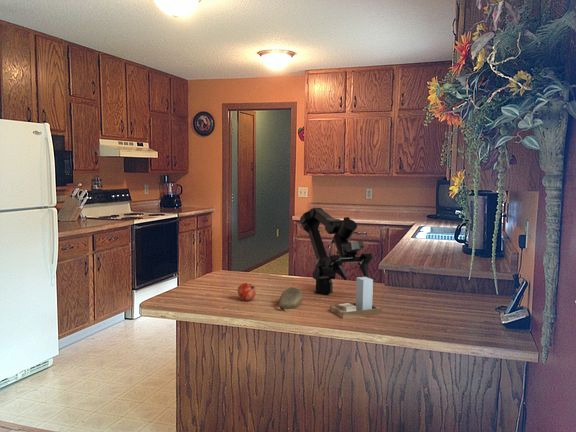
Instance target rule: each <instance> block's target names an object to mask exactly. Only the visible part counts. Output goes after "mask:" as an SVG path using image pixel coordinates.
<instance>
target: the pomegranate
mask: <svg viewBox="0 0 576 432" xmlns="http://www.w3.org/2000/svg"><path fill="white" fill-rule="evenodd" d="M236 291H237V295H238V296H239V299H241V300H242V301H244V302H249V301H251V300H254V299H255V298H256V295H257V293H256V292H257V291H256V286H255V285H252V284H250V283H247V282H244V283H241V284H240V285H239V286H238V288H237V289H236Z"/></svg>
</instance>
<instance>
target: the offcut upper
mask: <svg viewBox="0 0 576 432" xmlns="http://www.w3.org/2000/svg"><path fill="white" fill-rule="evenodd" d="M338 305H339V306H338V308H339V309H341V310H343V311H345V312H349V311H356V306H354V305H352V304H350V303H349V302H346V303H339V304H338Z"/></svg>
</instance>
